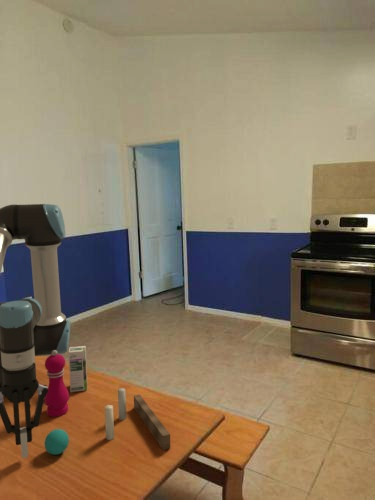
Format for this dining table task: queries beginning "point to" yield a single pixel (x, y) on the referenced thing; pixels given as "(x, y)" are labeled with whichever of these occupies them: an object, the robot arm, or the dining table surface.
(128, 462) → the dining table surface
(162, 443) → the back wall
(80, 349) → the syrup box
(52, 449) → the ball
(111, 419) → the ivory pin
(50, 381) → the pepper mill
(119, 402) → the grey pin
